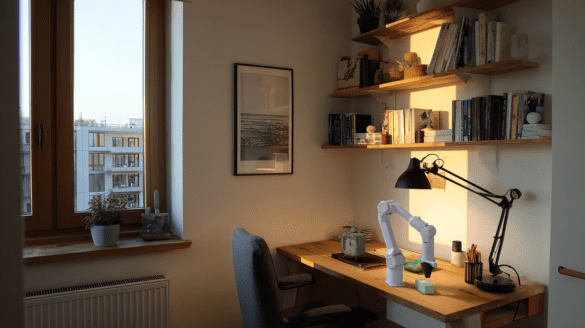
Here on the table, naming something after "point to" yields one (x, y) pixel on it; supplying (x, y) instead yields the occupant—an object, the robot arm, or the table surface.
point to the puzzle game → (414, 266)
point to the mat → (419, 290)
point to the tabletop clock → (353, 242)
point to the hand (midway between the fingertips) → (427, 277)
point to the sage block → (424, 286)
